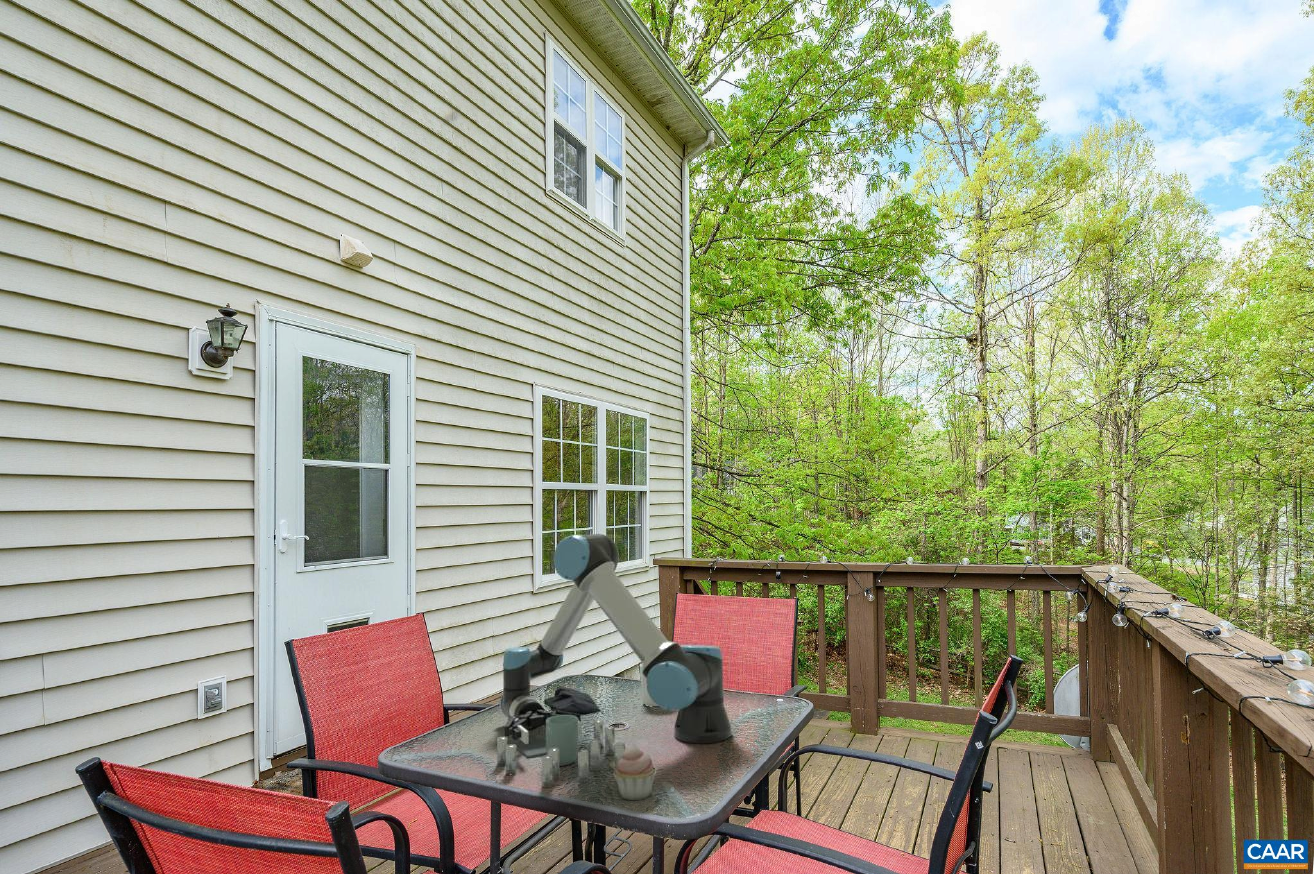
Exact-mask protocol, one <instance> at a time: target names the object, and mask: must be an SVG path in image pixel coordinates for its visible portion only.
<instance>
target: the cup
mask: <svg viewBox="0 0 1314 874" xmlns="http://www.w3.org/2000/svg"><path fill="white" fill-rule="evenodd" d="M545 737H546V750H547V755H549V749H551V748H559V759H560V767H562V766H568V765H570V764H572V763H574V762H575V761H576V759H577V758H578V751H579V740H580V734H579V721H578V718H577V717H576V716H573V715H558V716H553V717H550V718H548V719H547V720H546V726H545Z"/></svg>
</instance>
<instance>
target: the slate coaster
mask: <svg viewBox="0 0 1314 874" xmlns="http://www.w3.org/2000/svg"><path fill="white" fill-rule="evenodd" d="M512 744H515V745H516V750H518V751H519V752H520V753H521V752H522V753H521V754H522V755H524V757H526V759H530V758H535V757H541V756H545V755H547V750H546V736H545V737H539V738H534V739H529V743H528V744H525V743H524V742H523V741H521V740H520V741H515V742H512Z"/></svg>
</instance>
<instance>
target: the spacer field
mask: <svg viewBox="0 0 1314 874" xmlns="http://www.w3.org/2000/svg"><path fill="white" fill-rule="evenodd" d="M615 731H616V730H615V727H614V726H605V727H604V720H602V719H595V720H593V740H590V741H589V750H587V749H580V750H578V753H577V781H578V782H579V781H581V782H580V783H585V782H584V781H587V782H588V780H589V781H590V771H592V772H594V771H595V772H596V771H600V770H601V748H603V747H604V749H605V751H604V752H605V753H604V754H605V755H606V754H607V755H606V756H611V755H612V756H613V755H614V760H612V761H611V762H610V769H611V770H612V771H614V769H615V768H617V764H618V761H619V760H620V758H622V756H623V753H624V752H625V750H626V749H628V748H629V747H626V743H624V742H616V734H615V733H616V732H615ZM508 738H509V737H504V736H499V737H497V738H496V739H497V740H496V745H497V748H496V752H497V753H496V765H497V766H498V765H499V766H498V767H503V766H502V765H506V766H505V775H506V774H514V775H516V774H517V748H516V745H515V744H513V743H511V744H508ZM560 767H561V766H560V759H559V748H551V749H549V755H542V757H541V787H542V788H543V789H550V788H549V787H551V788H553V787H554V780H553V779H555V780H558V779H560V778H559V777H561V776H560V775H561V774H560ZM515 773H516V774H515ZM552 786H553V787H552Z"/></svg>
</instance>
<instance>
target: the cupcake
mask: <svg viewBox="0 0 1314 874" xmlns="http://www.w3.org/2000/svg"><path fill="white" fill-rule="evenodd" d="M627 748H628V749H626V750H625V752H624V753H623V756H622V758H620V760H619V761H618V764H617V768H615V769H614V770H613V771H614V772H613V773H612V774H613V776H614V778H615V780H616V782H617V783H616V784H617V786H618V791H619V794H620V796H621V798H622V799H625V800H630V801H640V800H644V799H646V798H648V797H650V795H651V793H652V790H653V789H652V787H653V782H654V780H655V777H656V775H657V769H658V768H657V767H655V766H654V762H653V760H652V758H651V755H650V753H648V751H647V752H646V751H645V750H641V748H640V747H639V746H638V745H637V744H636V743H633V745H631V746H629V747H627Z"/></svg>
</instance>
